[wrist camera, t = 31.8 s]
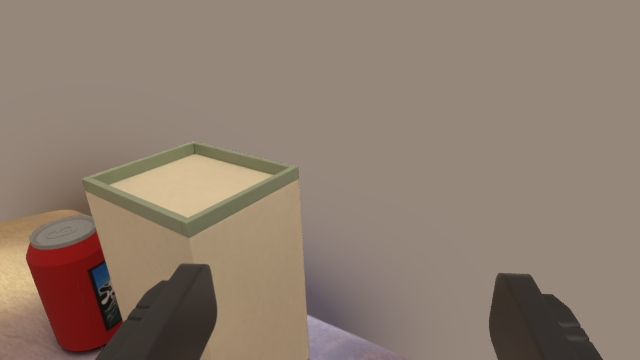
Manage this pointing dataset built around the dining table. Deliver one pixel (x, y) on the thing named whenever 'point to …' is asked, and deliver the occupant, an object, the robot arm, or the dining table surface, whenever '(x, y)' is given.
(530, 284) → the robot arm
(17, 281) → the dining table surface
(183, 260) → the cabinet
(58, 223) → the beverage can
